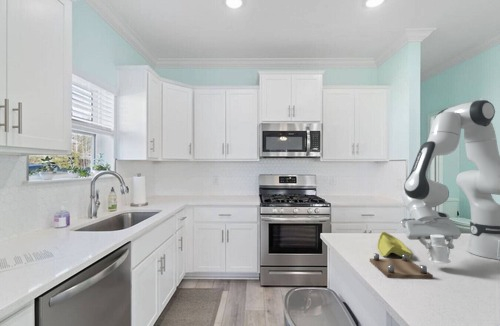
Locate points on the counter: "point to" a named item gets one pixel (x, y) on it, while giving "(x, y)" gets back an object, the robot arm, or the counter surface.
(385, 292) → the counter surface
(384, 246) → the plastic component
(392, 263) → the pin board
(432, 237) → the recessed downlight
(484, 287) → the counter surface
